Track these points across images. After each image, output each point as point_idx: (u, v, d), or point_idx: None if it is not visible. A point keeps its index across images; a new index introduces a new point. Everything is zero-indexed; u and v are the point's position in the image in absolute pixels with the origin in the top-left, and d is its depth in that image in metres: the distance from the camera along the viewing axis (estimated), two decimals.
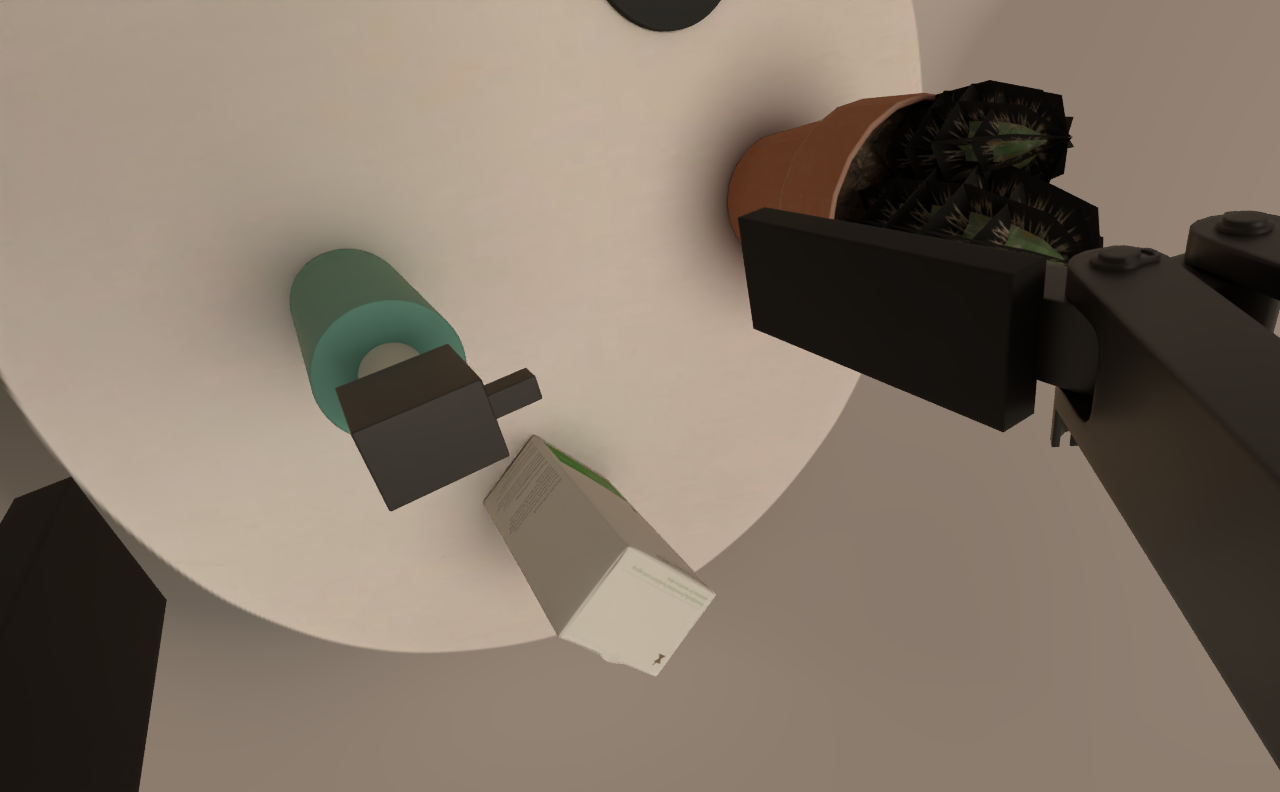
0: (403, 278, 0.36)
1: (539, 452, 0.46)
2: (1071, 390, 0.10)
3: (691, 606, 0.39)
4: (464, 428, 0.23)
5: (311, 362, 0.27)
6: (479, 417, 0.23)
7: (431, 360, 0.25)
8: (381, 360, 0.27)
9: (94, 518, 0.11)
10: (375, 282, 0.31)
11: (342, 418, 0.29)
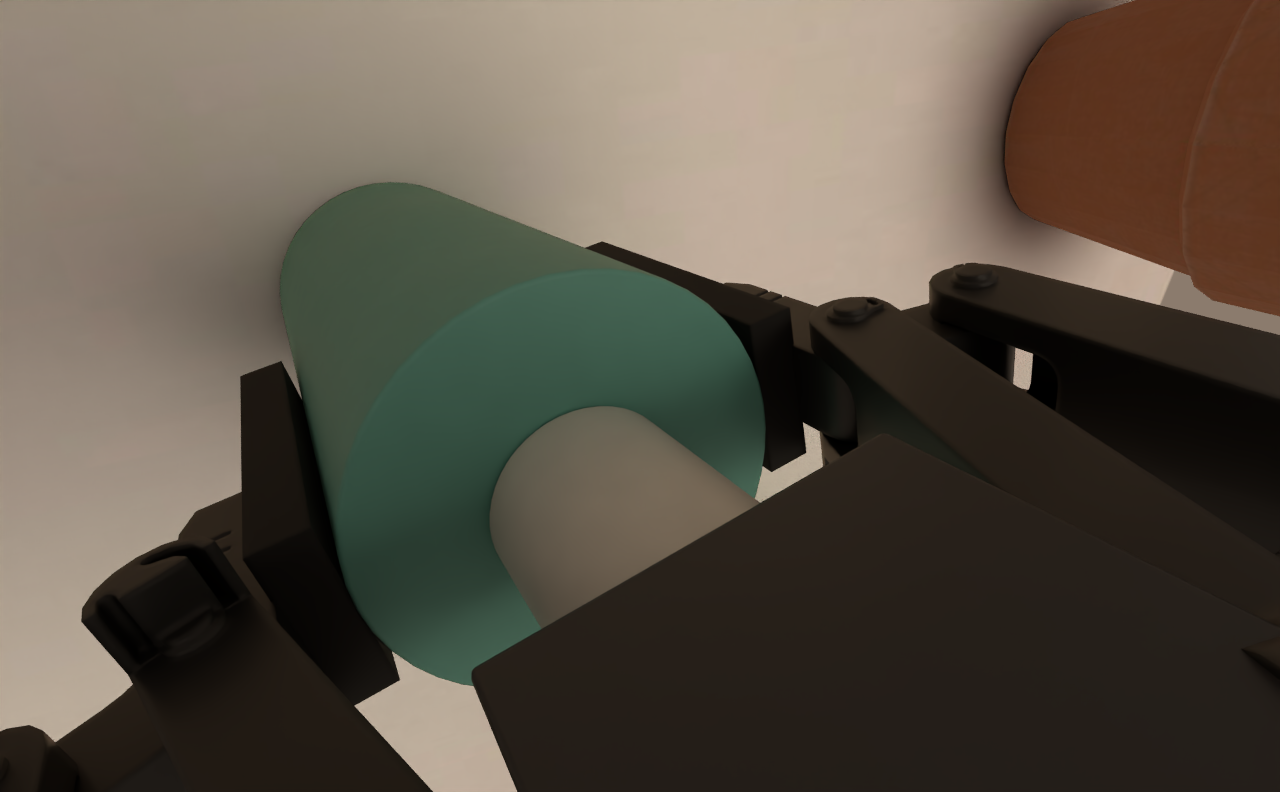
0: None
1: None
2: (834, 439, 0.11)
3: None
4: None
5: (342, 486, 0.08)
6: None
7: (903, 529, 0.05)
8: (606, 490, 0.07)
9: (298, 396, 0.13)
10: (508, 229, 0.11)
11: (435, 644, 0.09)
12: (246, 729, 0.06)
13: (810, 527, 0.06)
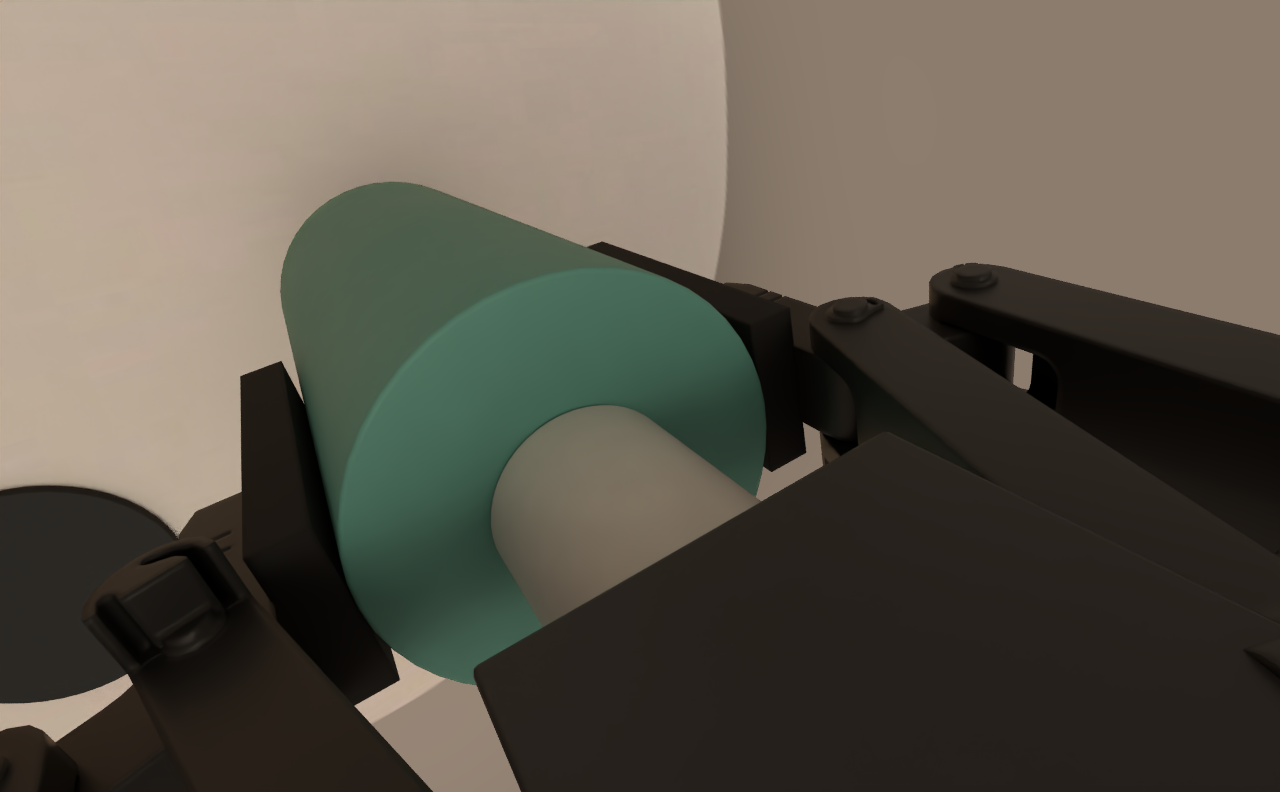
0: None
1: None
2: (834, 439, 0.11)
3: None
4: None
5: (344, 485, 0.08)
6: None
7: (904, 527, 0.05)
8: (607, 489, 0.07)
9: (298, 395, 0.13)
10: (509, 228, 0.11)
11: (436, 643, 0.09)
12: (246, 729, 0.06)
13: (812, 525, 0.06)
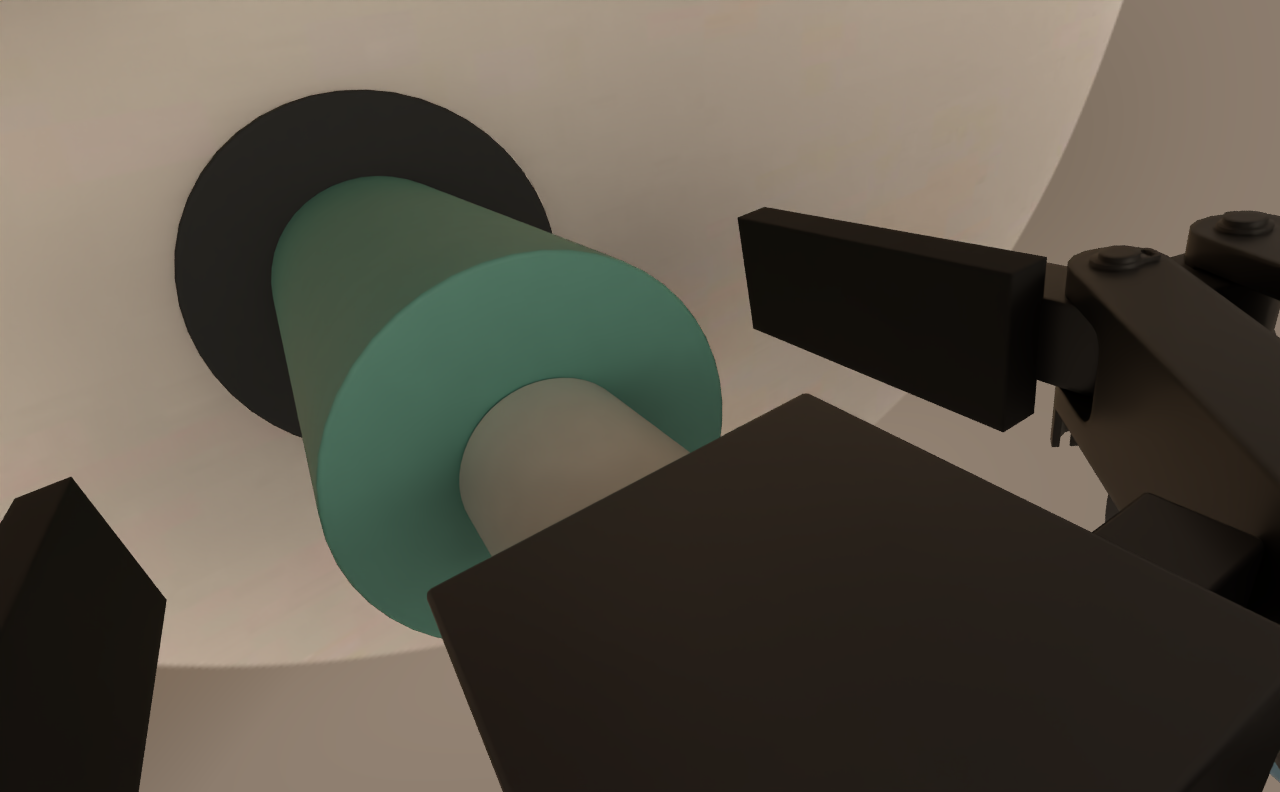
0: None
1: None
2: (1070, 391, 0.10)
3: None
4: None
5: (322, 447, 0.09)
6: None
7: (808, 470, 0.06)
8: (560, 448, 0.08)
9: (94, 518, 0.11)
10: (482, 216, 0.12)
11: (410, 598, 0.10)
12: None
13: (729, 470, 0.06)
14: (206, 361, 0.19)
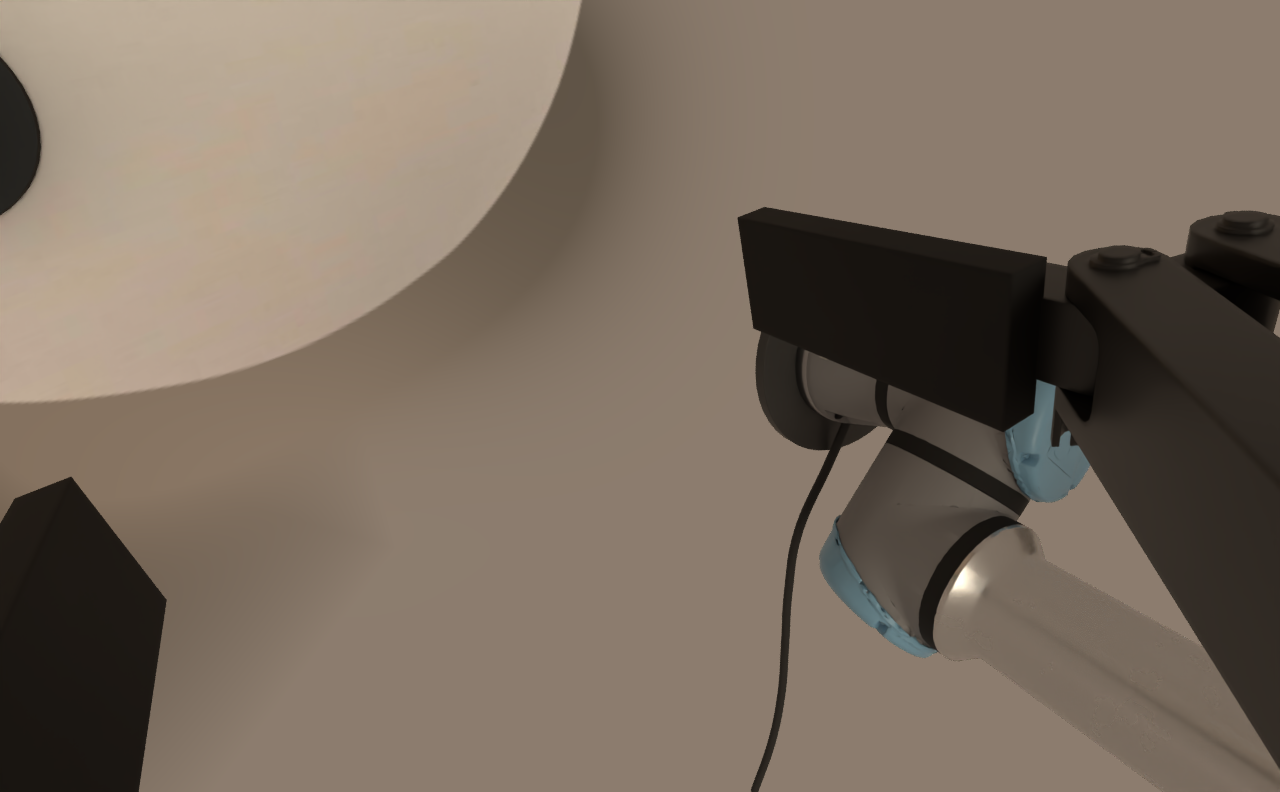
0: None
1: None
2: (1071, 391, 0.10)
3: None
4: None
5: None
6: None
7: None
8: None
9: (94, 518, 0.11)
10: None
11: None
12: None
13: None
14: None
